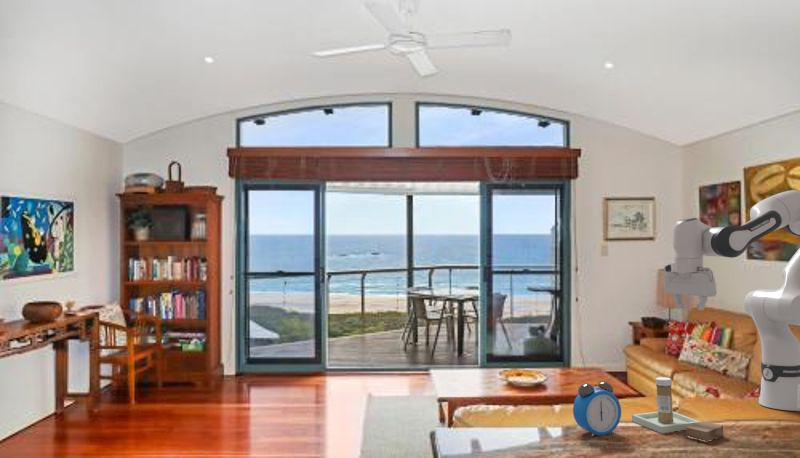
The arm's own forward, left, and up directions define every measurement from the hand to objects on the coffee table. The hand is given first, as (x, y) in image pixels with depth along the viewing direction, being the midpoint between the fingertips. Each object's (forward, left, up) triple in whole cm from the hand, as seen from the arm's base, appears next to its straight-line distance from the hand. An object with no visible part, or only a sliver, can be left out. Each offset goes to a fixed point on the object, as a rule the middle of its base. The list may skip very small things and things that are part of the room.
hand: (690, 308), depth 202 cm
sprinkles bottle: (+18, +8, -34) cm, 39 cm away
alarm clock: (+42, +8, -34) cm, 55 cm away
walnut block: (+16, +22, -34) cm, 44 cm away
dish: (+18, +8, -34) cm, 39 cm away
